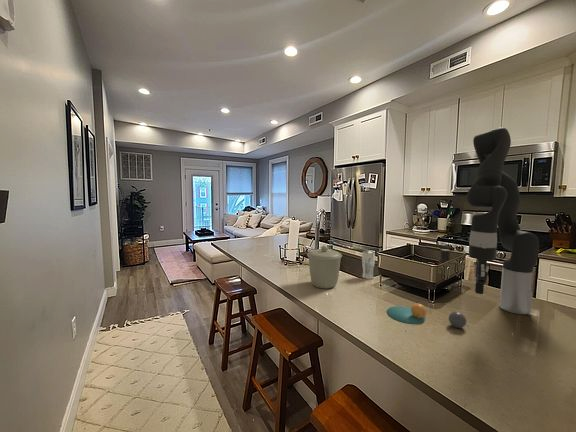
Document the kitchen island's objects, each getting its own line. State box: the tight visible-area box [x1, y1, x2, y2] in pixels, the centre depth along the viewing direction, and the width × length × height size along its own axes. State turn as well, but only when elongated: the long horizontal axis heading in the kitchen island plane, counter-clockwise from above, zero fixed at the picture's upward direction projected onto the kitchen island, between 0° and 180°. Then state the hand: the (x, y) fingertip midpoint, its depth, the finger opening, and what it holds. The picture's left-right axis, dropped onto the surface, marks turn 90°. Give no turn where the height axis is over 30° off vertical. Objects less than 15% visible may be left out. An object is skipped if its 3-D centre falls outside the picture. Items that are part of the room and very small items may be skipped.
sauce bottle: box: [437, 248, 452, 291], centre depth 129 cm, size 6×6×20 cm
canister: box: [306, 245, 343, 289], centre depth 134 cm, size 18×18×21 cm
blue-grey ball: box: [448, 311, 467, 329], centre depth 93 cm, size 6×6×6 cm
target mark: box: [386, 305, 426, 325], centre depth 103 cm, size 14×14×1 cm
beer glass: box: [361, 250, 376, 280], centre depth 145 cm, size 7×7×15 cm
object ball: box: [410, 303, 427, 318], centre depth 100 cm, size 6×6×6 cm
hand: (478, 293), depth 89 cm, fingers closed
